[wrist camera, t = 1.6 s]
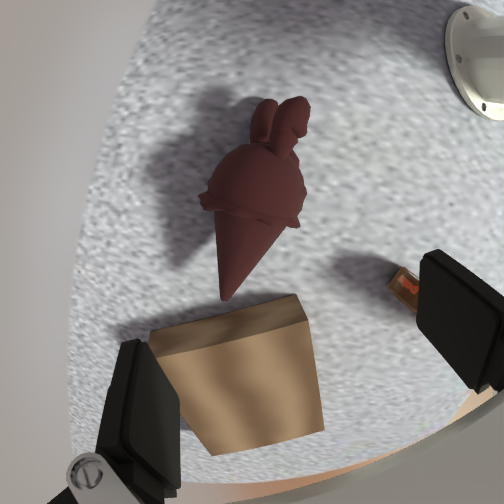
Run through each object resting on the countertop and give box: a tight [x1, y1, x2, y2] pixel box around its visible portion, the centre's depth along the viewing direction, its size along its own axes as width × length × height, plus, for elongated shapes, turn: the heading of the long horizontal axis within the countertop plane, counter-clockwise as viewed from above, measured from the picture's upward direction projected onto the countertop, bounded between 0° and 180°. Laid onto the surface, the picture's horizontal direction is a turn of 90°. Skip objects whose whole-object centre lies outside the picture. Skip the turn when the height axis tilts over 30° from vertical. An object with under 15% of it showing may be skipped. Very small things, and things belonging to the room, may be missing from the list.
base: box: [148, 294, 324, 456], centre depth 31 cm, size 14×18×4 cm
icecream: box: [198, 96, 311, 301], centre depth 21 cm, size 7×7×15 cm
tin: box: [387, 267, 419, 314], centre depth 27 cm, size 15×3×8 cm, turn 57°
